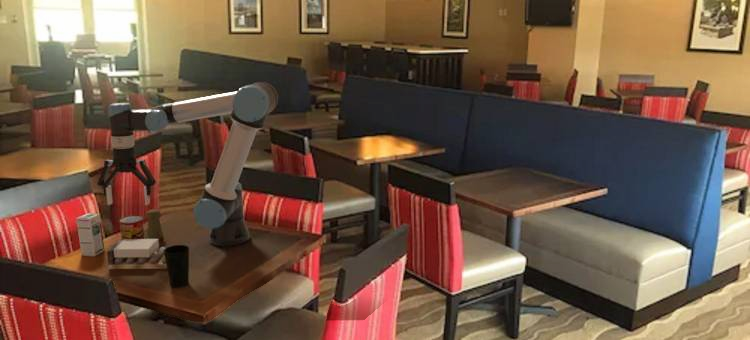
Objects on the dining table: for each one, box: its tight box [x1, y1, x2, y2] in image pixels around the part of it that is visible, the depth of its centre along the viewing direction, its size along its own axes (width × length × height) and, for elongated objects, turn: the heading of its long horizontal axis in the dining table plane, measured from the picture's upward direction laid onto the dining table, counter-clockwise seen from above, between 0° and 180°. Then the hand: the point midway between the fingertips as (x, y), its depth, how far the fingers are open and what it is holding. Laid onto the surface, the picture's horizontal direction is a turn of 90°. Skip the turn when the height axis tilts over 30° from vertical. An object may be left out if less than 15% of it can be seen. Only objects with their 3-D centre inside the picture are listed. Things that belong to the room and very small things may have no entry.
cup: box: [164, 244, 190, 289], centre depth 196 cm, size 8×8×12 cm
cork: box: [145, 209, 164, 240], centre depth 240 cm, size 6×6×11 cm
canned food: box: [119, 215, 146, 239], centre depth 226 cm, size 8×8×12 cm
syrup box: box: [75, 212, 105, 257], centre depth 223 cm, size 6×6×14 cm
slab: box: [113, 238, 160, 258], centre depth 215 cm, size 12×10×3 cm
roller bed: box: [106, 238, 167, 270], centre depth 215 cm, size 22×12×6 cm, turn 91°
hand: (128, 204), depth 223 cm, fingers open, 13 cm apart
